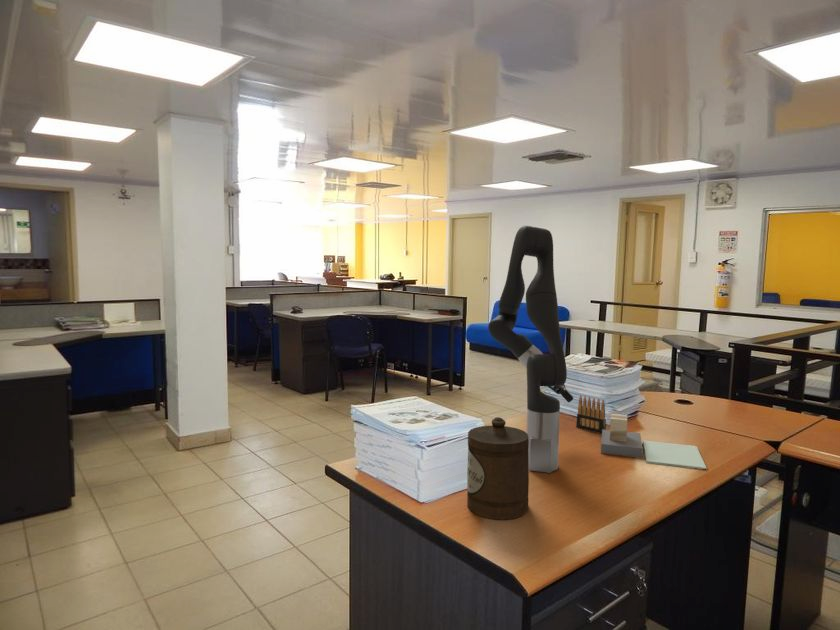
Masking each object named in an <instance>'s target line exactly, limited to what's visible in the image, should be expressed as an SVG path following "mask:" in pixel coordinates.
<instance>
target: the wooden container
mask: <svg viewBox="0 0 840 630" xmlns="http://www.w3.org/2000/svg"><path fill="white" fill-rule="evenodd" d="M505 425H506V421H505V419H503V418H502V417H498V416H497V417H494V418H493V419H492V420H491V425H483V426H482V425H481V426H476V427H473V428H471V429H470V430H469V431H468V432H467V471H466V473H467V477H466V481H467V482H466V484H467V486H466V487H467V488H466V489H467V490H466V491H467V495H466V496H467V501H466V504H467V508H468V509H469V510H470V511H471V512H472V511H473V512H472V513H474V514H475V515H478V516H479V517H481V518H482V517H483V518H486V519H491V520H504V521H505V520H511V519H512V520H513V519H517V518H520V517H522V516H523V515H525V514H526V513H527V512H528V510H529V489H530V485H529V483H530V482H529V481H530V480H529V479H530V478H529V477H530V474H529V473H530V470H529V468H528V447H529V439H528V434H527V431H525V430H524V429H520V428H516V427H512V426H507V425H506V426H505Z"/></svg>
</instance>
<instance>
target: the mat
mask: <svg viewBox="0 0 840 630" xmlns="http://www.w3.org/2000/svg"><path fill="white" fill-rule="evenodd" d="M642 446H643V448H644V449H643V450H644V456H645V463H646V464H653V465H654V464H655V465H661V466H662V465H663V466H670V467H677V466H679V468H686V467H689V468H688V469H694V468H697V469H696V470H702V469H706V470H707V469H708V468H707V466H706V464H705V461H704V459H703V456H702V455H701V453H700V451H699V449H698V447H697V445H689V444H681V443H679V444H678V443H670V442H669V443H668V442H661V441H651V440H642Z"/></svg>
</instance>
